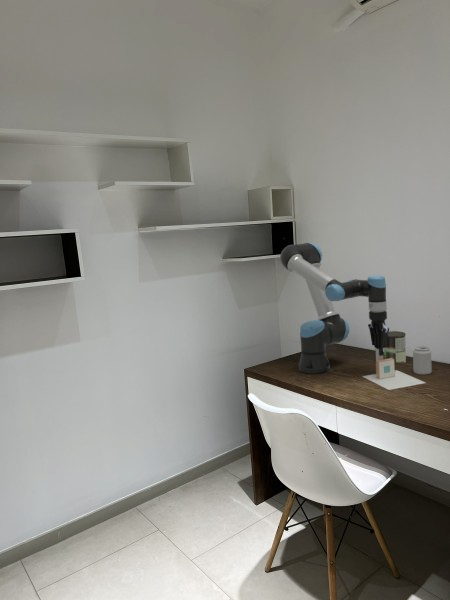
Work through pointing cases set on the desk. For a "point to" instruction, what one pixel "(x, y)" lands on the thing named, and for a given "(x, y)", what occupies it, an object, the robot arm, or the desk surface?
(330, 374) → the desk surface
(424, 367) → the can
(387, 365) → the tile
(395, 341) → the coffee can
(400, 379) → the mat
